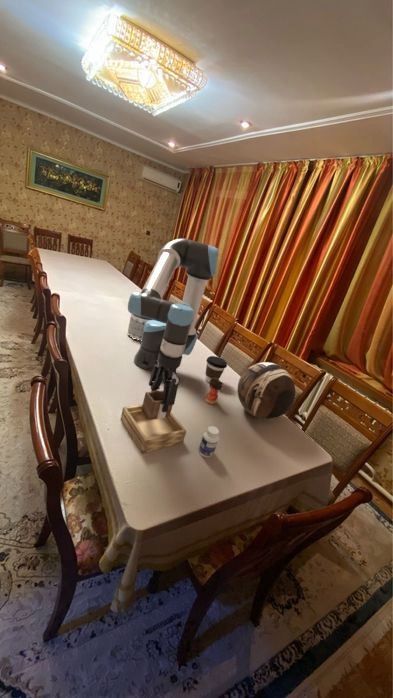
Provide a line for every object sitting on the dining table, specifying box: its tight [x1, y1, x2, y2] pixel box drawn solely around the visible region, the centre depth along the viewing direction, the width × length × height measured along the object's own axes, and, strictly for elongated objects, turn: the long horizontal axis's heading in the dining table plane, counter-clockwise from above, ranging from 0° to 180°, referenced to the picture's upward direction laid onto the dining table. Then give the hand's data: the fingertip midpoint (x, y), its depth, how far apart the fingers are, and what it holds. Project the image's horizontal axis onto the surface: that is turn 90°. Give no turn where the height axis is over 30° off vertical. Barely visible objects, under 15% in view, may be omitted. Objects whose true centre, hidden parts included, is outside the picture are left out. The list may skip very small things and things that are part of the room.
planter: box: [127, 313, 152, 340], centre depth 179 cm, size 16×16×14 cm
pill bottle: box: [198, 425, 220, 458], centre depth 98 cm, size 5×5×10 cm
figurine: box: [203, 377, 223, 405], centre depth 130 cm, size 6×6×12 cm
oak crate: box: [120, 403, 187, 454], centre depth 102 cm, size 16×18×5 cm
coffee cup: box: [204, 355, 228, 384], centre depth 150 cm, size 11×11×12 cm
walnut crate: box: [141, 389, 174, 420], centre depth 99 cm, size 8×6×7 cm
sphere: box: [237, 361, 296, 420], centre depth 129 cm, size 25×25×25 cm
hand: (156, 412), depth 100 cm, fingers closed on walnut crate, 6 cm apart
